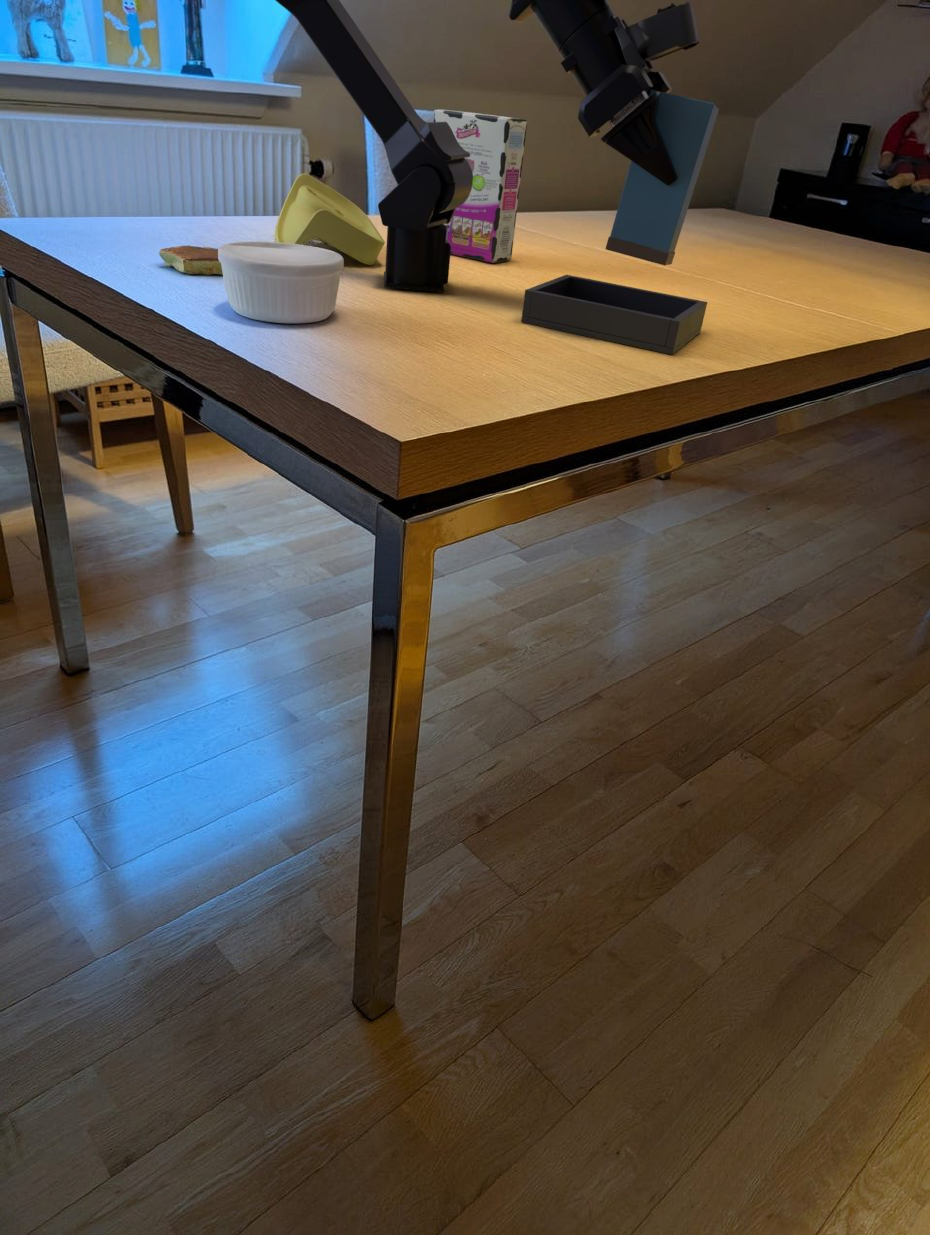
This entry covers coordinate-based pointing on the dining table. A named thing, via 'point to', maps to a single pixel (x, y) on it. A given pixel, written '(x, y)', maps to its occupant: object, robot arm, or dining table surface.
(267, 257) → the ramekin
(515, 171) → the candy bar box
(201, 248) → the brown and green slab
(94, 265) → the dining table surface
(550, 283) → the dark grey tray
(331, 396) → the dining table surface
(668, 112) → the blue rectangular block
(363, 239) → the plastic component
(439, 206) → the robot arm
